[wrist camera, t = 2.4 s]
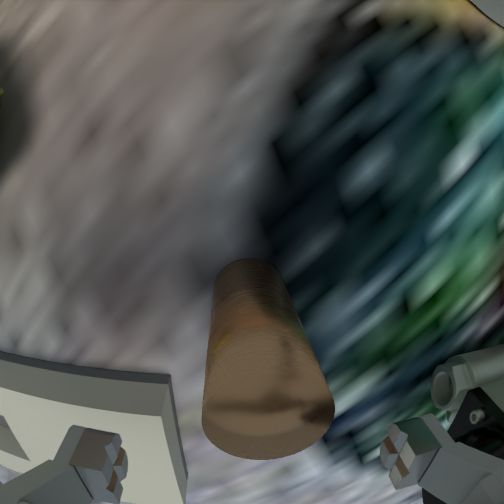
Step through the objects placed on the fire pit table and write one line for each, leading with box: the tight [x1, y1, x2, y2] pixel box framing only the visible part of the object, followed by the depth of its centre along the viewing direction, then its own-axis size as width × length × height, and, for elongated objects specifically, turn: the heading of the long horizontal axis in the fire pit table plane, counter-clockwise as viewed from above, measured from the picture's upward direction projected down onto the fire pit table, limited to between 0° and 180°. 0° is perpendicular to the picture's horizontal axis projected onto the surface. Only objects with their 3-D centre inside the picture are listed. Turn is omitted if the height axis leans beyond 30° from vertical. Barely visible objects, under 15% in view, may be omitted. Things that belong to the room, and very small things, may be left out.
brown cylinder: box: [202, 258, 335, 460], centre depth 13 cm, size 4×4×10 cm
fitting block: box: [0, 352, 188, 504], centre depth 18 cm, size 22×12×4 cm, turn 88°
